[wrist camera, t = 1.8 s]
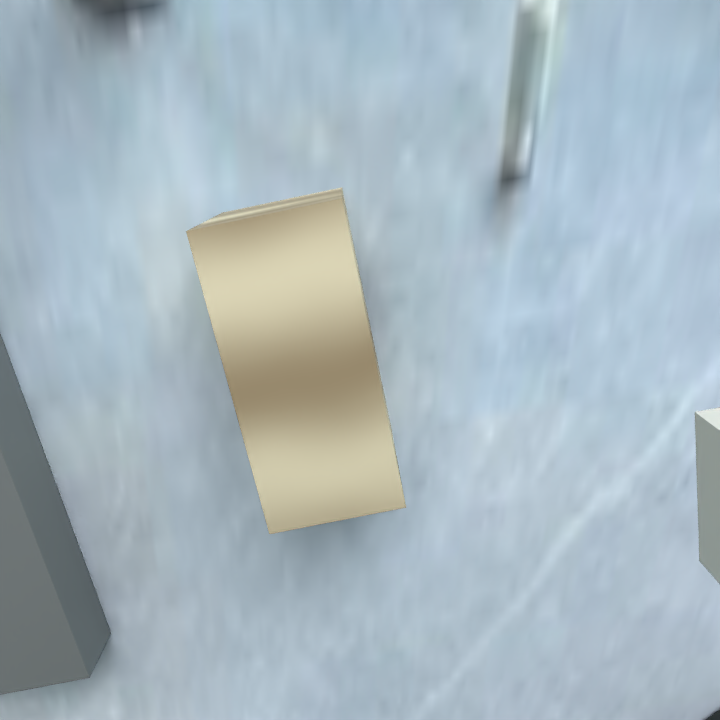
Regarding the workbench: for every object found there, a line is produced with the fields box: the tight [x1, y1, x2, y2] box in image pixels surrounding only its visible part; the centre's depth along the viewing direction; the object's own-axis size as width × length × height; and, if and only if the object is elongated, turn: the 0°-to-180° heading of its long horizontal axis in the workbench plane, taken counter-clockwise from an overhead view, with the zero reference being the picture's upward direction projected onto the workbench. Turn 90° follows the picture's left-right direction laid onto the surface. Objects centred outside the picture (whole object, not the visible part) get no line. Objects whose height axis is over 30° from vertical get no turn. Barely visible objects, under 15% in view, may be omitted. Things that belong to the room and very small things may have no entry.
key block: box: [186, 188, 406, 534], centre depth 26 cm, size 11×5×7 cm, turn 12°
